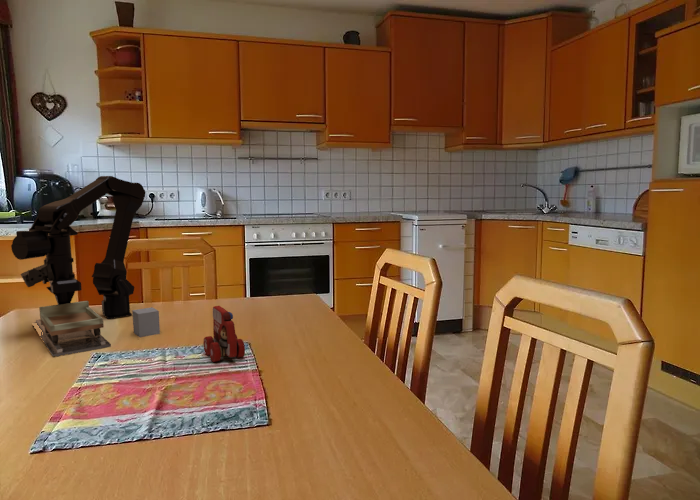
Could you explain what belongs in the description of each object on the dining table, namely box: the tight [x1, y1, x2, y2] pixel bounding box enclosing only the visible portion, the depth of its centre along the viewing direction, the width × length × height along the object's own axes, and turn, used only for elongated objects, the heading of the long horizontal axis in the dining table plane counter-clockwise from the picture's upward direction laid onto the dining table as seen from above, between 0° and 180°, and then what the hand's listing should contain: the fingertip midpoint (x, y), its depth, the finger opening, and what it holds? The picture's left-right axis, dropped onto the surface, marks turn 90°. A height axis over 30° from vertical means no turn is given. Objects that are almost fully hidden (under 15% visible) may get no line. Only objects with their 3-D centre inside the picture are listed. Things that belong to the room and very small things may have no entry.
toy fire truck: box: [203, 305, 246, 363], centre depth 116 cm, size 7×12×10 cm, turn 30°
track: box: [35, 319, 112, 357], centre depth 133 cm, size 12×34×1 cm, turn 38°
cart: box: [39, 300, 105, 343], centre depth 129 cm, size 11×16×6 cm
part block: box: [131, 306, 161, 338], centre depth 134 cm, size 5×5×6 cm
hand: (63, 314), depth 137 cm, fingers closed
